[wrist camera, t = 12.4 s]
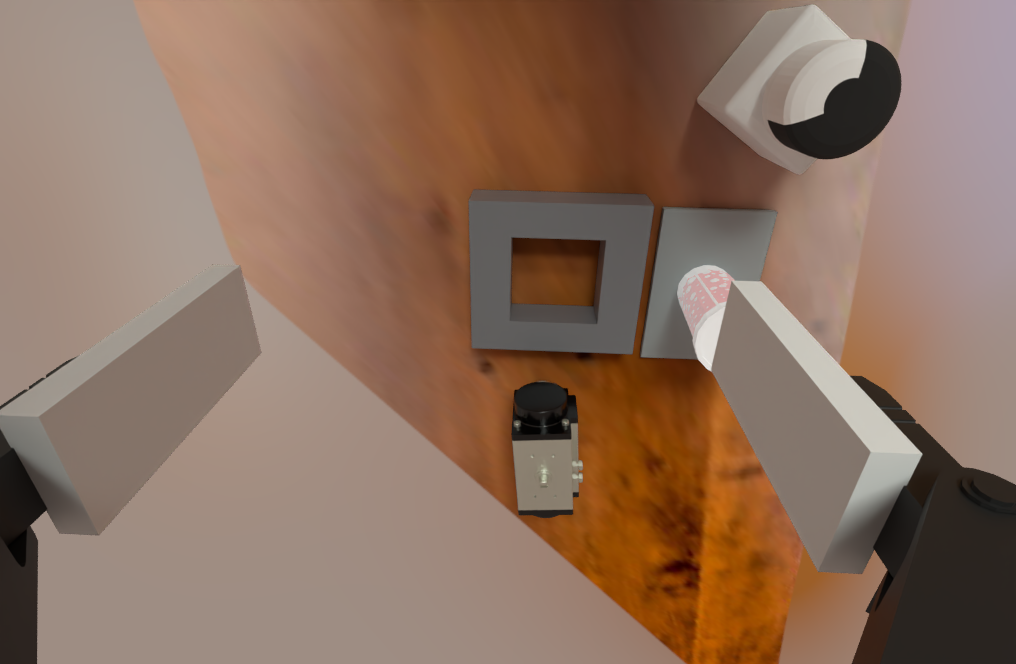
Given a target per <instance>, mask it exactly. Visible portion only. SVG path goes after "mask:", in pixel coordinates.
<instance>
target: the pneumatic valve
mask: <svg viewBox="0 0 1016 664" xmlns="http://www.w3.org/2000/svg"><path fill="white" fill-rule="evenodd" d="M512 444H513V455H514V467H515V478H516V490H517V501H518V513H519V515H534V516H537V517H541V518H551V517H555V516H558V515H572V514H573V497H579V482H583V475H582V472H578V467H579V470H583V464H582V460H578V415H577V405H576V396H575V395H568V389H567V388H562V387H560V386H559V385H557V384H556V383H550V382H548V381H536V382H534V383H530V384H527V385H524V386H523V387H521V388H520V389H518V390H515V391H514V406H513V421H512ZM578 479H579V480H578Z"/></svg>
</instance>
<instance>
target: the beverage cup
mask: <svg viewBox="0 0 1016 664" xmlns="http://www.w3.org/2000/svg"><path fill="white" fill-rule="evenodd" d="M731 281H735V280H734V279H733V278H732V277H731V276H730V275H729V274H728V273H727V272H726V271H724V270H723V269H721V268H719V267H717V266H711V265H703V266H700V267H697V268H694V269H692V270H691V271H690V272H688V273H687V274H686V275H684V277H683V278H682V280H681V281H680V283H679V285H678V290H677V296H678V300H679V303H680V306H681V308H682V311H683V313H684V316H685V318H686V321H687V323H688V326H689V329H690V331H691V334H692V336H693V340H692V341H693V345H694V349H695V353H696V355H697V358H698V360H699V361H700V362H701V363H702V364H703V365H704V366H705V368H706V369H707V370H709V371H711V367H712V362H713V358H714V354H715V349H716V345H717V341H718V337H719V332H720V328H721V324H722V319H723V315H724V311H725V306H726V302H727V298H728V294H729V289H730V285H731Z"/></svg>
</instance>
